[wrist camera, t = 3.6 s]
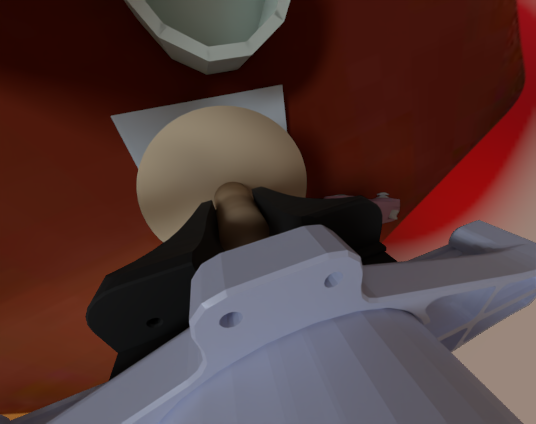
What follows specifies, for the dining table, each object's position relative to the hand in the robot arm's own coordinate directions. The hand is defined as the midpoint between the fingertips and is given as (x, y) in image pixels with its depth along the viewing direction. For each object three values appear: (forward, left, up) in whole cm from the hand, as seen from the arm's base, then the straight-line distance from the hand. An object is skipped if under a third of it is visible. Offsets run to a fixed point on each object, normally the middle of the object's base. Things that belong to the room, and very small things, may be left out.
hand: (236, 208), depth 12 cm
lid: (0, 0, -2) cm, 2 cm away
